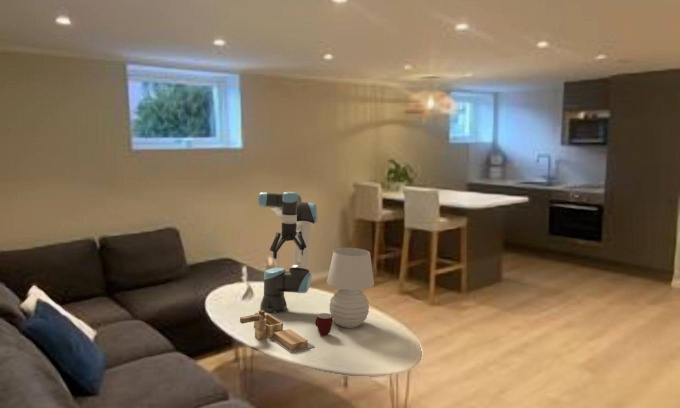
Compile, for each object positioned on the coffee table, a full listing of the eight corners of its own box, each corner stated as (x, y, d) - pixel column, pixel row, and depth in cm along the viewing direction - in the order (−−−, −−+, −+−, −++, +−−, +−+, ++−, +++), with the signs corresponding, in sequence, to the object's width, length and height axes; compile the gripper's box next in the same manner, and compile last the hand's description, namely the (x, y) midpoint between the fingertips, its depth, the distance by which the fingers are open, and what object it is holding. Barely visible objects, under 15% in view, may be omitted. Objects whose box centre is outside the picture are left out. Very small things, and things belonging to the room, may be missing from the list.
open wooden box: (267, 324, 272) (268, 302, 270) (282, 334, 259) (283, 312, 257) (244, 329, 264) (245, 306, 263) (259, 340, 251) (259, 316, 250)
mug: (309, 333, 263) (309, 314, 261) (319, 329, 269) (320, 310, 267) (324, 339, 256) (325, 319, 255) (335, 334, 262) (335, 315, 261)
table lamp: (378, 321, 284) (382, 250, 278) (361, 336, 261) (365, 260, 255) (337, 313, 294) (340, 244, 289) (316, 327, 271) (319, 253, 266)
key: (262, 317, 255) (262, 310, 255) (264, 319, 253) (264, 311, 253) (240, 322, 248) (240, 314, 248) (242, 323, 246) (242, 315, 246)
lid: (289, 334, 259) (289, 329, 258) (307, 346, 245) (307, 340, 245) (273, 338, 253) (273, 332, 253) (291, 350, 240) (291, 344, 239)
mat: (293, 333, 262) (293, 332, 261) (314, 347, 246) (314, 346, 245) (270, 338, 254) (270, 337, 254) (290, 353, 238) (290, 352, 238)
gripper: (306, 219, 271) (304, 259, 274) (263, 222, 256) (262, 264, 259) (313, 222, 265) (312, 262, 268) (270, 225, 250) (269, 267, 253)
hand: (287, 263), depth 264 cm, fingers open, 13 cm apart
